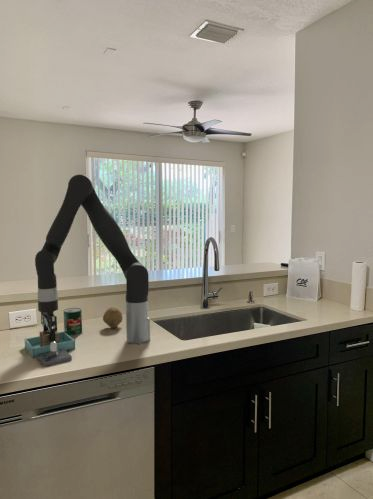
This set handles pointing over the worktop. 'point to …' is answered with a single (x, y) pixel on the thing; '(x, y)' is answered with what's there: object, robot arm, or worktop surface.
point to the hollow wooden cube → (47, 338)
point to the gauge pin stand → (54, 356)
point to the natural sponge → (112, 317)
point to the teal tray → (34, 345)
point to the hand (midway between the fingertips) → (49, 338)
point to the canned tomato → (73, 321)
